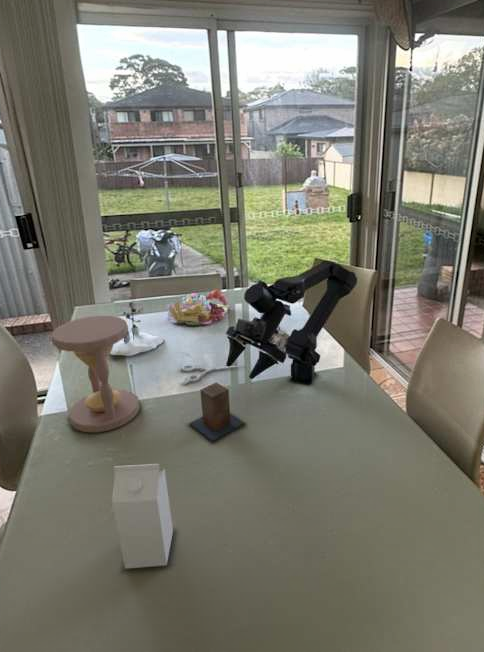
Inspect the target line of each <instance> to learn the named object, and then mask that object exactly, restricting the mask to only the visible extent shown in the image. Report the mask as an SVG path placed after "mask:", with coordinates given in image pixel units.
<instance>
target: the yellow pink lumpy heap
mask: <svg viewBox="0 0 484 652" xmlns="http://www.w3.org/2000/svg"><path fill="white" fill-rule="evenodd" d="M212 299H215V300H218V301H219V302H221V303H222V304H219V303H214V302H213V301H211V300H212ZM181 301H182V303H180V302H179V301H175V302H173V303H172V302H170V304H169V303H167V311H168V313H167V318H168V319H169V321H170V323H173V324H185V325H190V326H194V325H195V326H198V325H199V326H200V325H209V324H211V323H217V322H218V320H220V321H222V320H223V319H224V318H225V314H227V313H228V310H229V306H228V302H227V300H226V297H225V296H224V295H222V291H220V290H219V289H213V291H212V292H209V293H207V295H206V296H205V295H204V294H203V295H202V294H201V295H198V293H196V292H193V293H188V294H187V296H184V297H182V298H181Z"/></svg>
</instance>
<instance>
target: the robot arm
mask: <svg viewBox="0 0 484 652" xmlns="http://www.w3.org/2000/svg"><path fill="white" fill-rule="evenodd" d="M323 281H326V290H325V292H324V294H323V295H322V296H321V297H320V299H319V302H318V303H317V305H316V306H315V308H314V309H313V311H312V312H311V314H310V315H309V317H308V319H307V320H306V322H305V323H304V325H303V327H302V328H300V329H296V328H294V329H293V330H292V331H291V332H290V334H289V338H288V339H287V342H286V344H285V349H284V350H282V349H281V348H280V347H279V346H277V345H275V344H273V343H270V342H271V339H273V337H274V336H273V334H275V335H277V334H278V332H279V331H277V330H276V329H277V328H278V326H279V327H280V324H281V322H282V321H283V319H284V317H285V315H286V316H289V317H290V316H292V311H291V306H290V305H288V304H292V305H294V304H296V303H298V302H299V301H300V300H301V299H302V298H303V297H305V294H306V291H308V290H310V289H311V288H313V287H315V286H316V285H319V284H320V283H322V282H323ZM357 283H358V277H357V275H356V273H355V272H354V271H351V270H348V269H347V268H345V267H343V266H342V265H340V264H339V263H337V262H336V261H332V260H328V259H325V260H322V261H321V262H320V263H318V264H317V265H315V266H313V267H311V268H309V269H307V270H305V271H303V272H301V273H299V274H298V275H294V276H293V275H292V276H284V277H281V278H278V279H276V280H275V281H274V283H272V284H270V285H268V283H266V282H265V281H262V280H260V279H259V280H258V281H257V283H254V284H252V285H251V286H249V287H248V288H247V289H246V290H245V292H244V295H243V298H244V301H245V303H247V304H248V305H250V307H252V309H254V310H255V311H256V312H257V313H260V315H259V316H258V317H256V316H254V317H253V318H252V320H248V319H243V318H237V320H236V323H235V326H233V325H231V326H229V327H228V329H226V331H225V335H227V338H226V339H228V342H229V350H228V355H227V360H226V363H227V364H226V363H225V364H226V365H225V366H226V367H230V366H232V365H233V364H234V363H236V362H235V361H237V360H238V359H239V357H240V356H241V355H242V354H243V352H244V351H245V350H246V349H247V347H246V346H247V345H250V346H252V347H253V348H257V349H258V350H259V351H258V359H257V360H256V362H255V365H254V366H253V368H252V370H251V372H250V374H249V376H248V379H250V380H254V379H255V378H256V377H257V376H259V375H260V374H262V373H263V372H265V371H266V370H268V369H269V368H271V367H272V366H274V365H279V363H280V364H284V362H285V361H286V359H287V358H288V359H290V360H292V361H291V364H290V382H294V383H298V384H299V383H300V384H306V385H311V384H312V383H313V381H314V380H315V378H316V376H317V373H316V372H315V371H316V366H317V364H318V363H320V360H321V354H320V353H318V352H317V351H316V349H317V348H318V346H317V345H318V342H317V341H318V339H317V338H318V336H319V334H320V333H321V331H322V329H323V327H324V326H325V324H326V323H327V321H328V320H329V318H330V316H331V315H332V313H333V312H334V310H335V308H336V306H337V305H338V303H339V302H340V300H341V299H342V298H345V297H346V296H348V295H349V294H350V293H351V292H352V291H353V289H354V288H355V287H356V286H357ZM284 302H285V303H284ZM286 303H288V304H286ZM272 336H273V337H272Z"/></svg>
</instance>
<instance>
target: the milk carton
mask: <svg viewBox="0 0 484 652" xmlns="http://www.w3.org/2000/svg"><path fill="white" fill-rule="evenodd" d="M113 469H114V478H113V487H112V497H111V505H112V508H113V514H114V519H115V525H116V530H117V534H118V539H119V545H120V550H121V555H122V560H123V565H124V569H140V568H152V567H165V566H167V565H168V560H169V554H170V549H171V545H172V538H173V535H174V534H173V533H174V529H173V528H174V527H173V520H172V513H171V508H170V507H171V506H170V499H169V491H168V485H167V483H168V482H167V477H166V470H165V468H160V464H159V463H146V464H132V465H131V464H130V465H115V466H114V467H113Z"/></svg>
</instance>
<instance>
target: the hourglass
mask: <svg viewBox="0 0 484 652" xmlns="http://www.w3.org/2000/svg"><path fill="white" fill-rule="evenodd" d="M128 331H129V326H128V323H127V321H126V320H125V319H123V318H122V317H119V316H114V315H93V316H85V317H81V318H76V319H73V320H70V321H67V322H65V323H63V324H61V325H59V326H57V327H56V328H55V329H54V330H53V331H52V332H51V343H52V345H53V346H54V347H55V348H57V349H58V350H61V351H66V352H73V354H74V355H75V357H77V358H78V359H79V360H80V361H81V362H83V364H85V365H86V366H87V367H88V368H87V376H88V379H89V382H90V384H91V389H92V393H90V394H88V395H86V396H84V397H83V398H81V399H79V400H77V401H76V402H75V403H74V404H73V405H72V407H71V408H70V410H69V412H68V420H69V423H70V425H71V426H72V428H74V429H75V430H78V431H79V432H83V433H93V434H95V433H97V434H98V433H103V432H109V431H111V430H115V429H117V428H120V427H122V426H124V425H125V424H127V423H129V422H131V420H133V419H134V418H135V417H136V416H137V415H138V412H139V410H140V407H141V405H140V400H139V397H138V395H136V394H135V393H134V392H132V391H130V390H126V389H118V388H117V389H116V388H112V387H111V385H110V383H109V377H110V368H109V364H108V361H107V360H108V359H109V357H110V355H111V354H110V353H111V351H112V348H113V344H115V343H117V342H119V341H120V340H122V339H123V338H124V337H125V336H126V335H127V333H128Z"/></svg>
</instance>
